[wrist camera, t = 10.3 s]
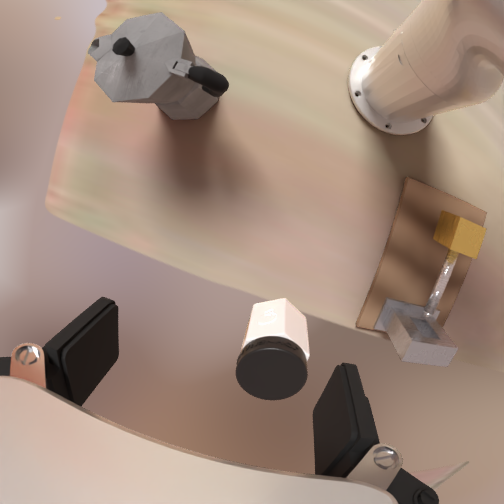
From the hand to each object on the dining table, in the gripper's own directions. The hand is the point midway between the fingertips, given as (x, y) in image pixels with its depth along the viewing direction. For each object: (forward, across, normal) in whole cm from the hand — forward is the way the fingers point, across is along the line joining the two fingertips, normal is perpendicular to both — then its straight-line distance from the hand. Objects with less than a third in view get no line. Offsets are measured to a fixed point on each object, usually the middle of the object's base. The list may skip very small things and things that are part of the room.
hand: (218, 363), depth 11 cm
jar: (+28, -5, +14) cm, 32 cm away
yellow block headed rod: (+25, -24, -2) cm, 35 cm away
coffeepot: (+28, +13, -15) cm, 35 cm away
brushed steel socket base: (+28, -24, +8) cm, 38 cm away
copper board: (+28, -24, 0) cm, 37 cm away
